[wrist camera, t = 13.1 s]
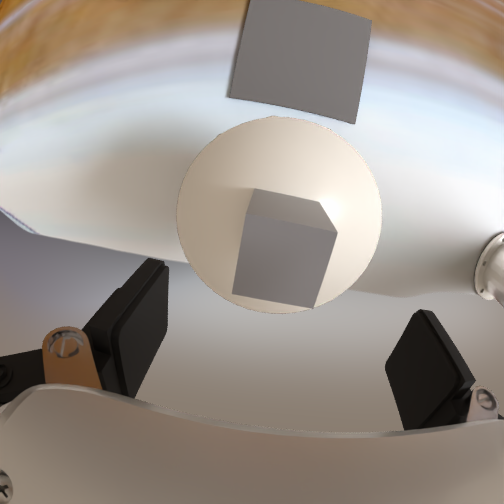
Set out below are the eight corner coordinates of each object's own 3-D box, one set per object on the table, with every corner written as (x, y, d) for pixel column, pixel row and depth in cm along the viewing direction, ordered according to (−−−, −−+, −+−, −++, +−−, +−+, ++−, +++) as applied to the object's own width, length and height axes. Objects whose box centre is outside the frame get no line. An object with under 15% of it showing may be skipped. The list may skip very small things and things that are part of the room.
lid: (385, 146, 20) (452, 161, 11) (337, 300, 26) (360, 378, 17) (204, 106, 20) (155, 91, 11) (183, 271, 26) (143, 341, 17)
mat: (370, 21, 24) (371, 20, 23) (354, 124, 30) (354, 124, 30) (252, -5, 24) (252, -7, 23) (229, 97, 30) (229, 97, 30)
